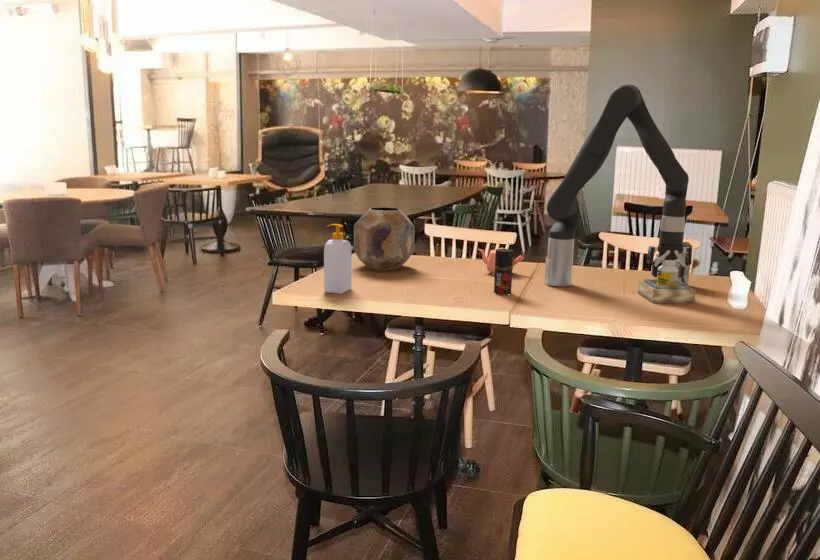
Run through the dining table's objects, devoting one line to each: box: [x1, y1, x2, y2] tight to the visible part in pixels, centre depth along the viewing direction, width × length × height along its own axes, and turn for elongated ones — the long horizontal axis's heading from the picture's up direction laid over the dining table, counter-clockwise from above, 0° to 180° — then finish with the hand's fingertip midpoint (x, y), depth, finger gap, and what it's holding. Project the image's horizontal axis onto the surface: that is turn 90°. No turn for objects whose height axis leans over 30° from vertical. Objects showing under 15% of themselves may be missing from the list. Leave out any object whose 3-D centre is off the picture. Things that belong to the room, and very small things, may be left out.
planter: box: [353, 206, 416, 272], centre depth 273 cm, size 22×24×24 cm
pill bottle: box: [656, 259, 678, 286], centre depth 230 cm, size 6×6×12 cm
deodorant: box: [493, 248, 514, 296], centre depth 233 cm, size 6×6×15 cm
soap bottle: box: [323, 223, 352, 295], centre depth 231 cm, size 9×7×23 cm
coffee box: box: [675, 241, 693, 285], centre depth 250 cm, size 9×6×16 cm
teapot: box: [477, 247, 524, 275], centre depth 268 cm, size 14×12×10 cm
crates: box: [637, 278, 697, 305], centre depth 231 cm, size 14×14×6 cm
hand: (667, 277), depth 230 cm, fingers open, 8 cm apart
